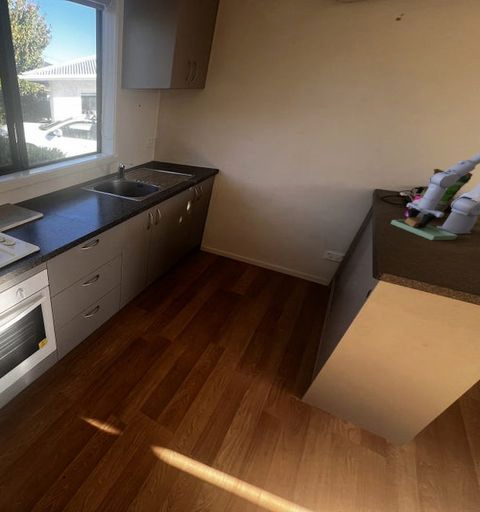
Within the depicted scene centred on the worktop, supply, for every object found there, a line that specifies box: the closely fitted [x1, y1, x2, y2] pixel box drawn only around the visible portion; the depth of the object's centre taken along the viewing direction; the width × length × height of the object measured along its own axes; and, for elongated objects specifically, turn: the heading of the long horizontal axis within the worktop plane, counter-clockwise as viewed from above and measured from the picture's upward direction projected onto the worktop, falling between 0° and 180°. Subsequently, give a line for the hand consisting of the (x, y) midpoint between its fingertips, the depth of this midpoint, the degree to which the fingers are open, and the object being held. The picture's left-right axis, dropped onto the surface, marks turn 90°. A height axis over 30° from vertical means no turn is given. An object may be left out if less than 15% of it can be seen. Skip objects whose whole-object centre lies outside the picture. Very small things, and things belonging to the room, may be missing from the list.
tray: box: [390, 219, 459, 241], centre depth 140 cm, size 12×19×2 cm, turn 6°
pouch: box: [419, 168, 474, 213], centre depth 153 cm, size 11×12×25 cm
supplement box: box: [404, 195, 428, 218], centre depth 153 cm, size 6×6×12 cm
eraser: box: [403, 217, 430, 228], centre depth 142 cm, size 8×4×4 cm, turn 95°
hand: (414, 225), depth 143 cm, fingers closed on eraser, 5 cm apart
